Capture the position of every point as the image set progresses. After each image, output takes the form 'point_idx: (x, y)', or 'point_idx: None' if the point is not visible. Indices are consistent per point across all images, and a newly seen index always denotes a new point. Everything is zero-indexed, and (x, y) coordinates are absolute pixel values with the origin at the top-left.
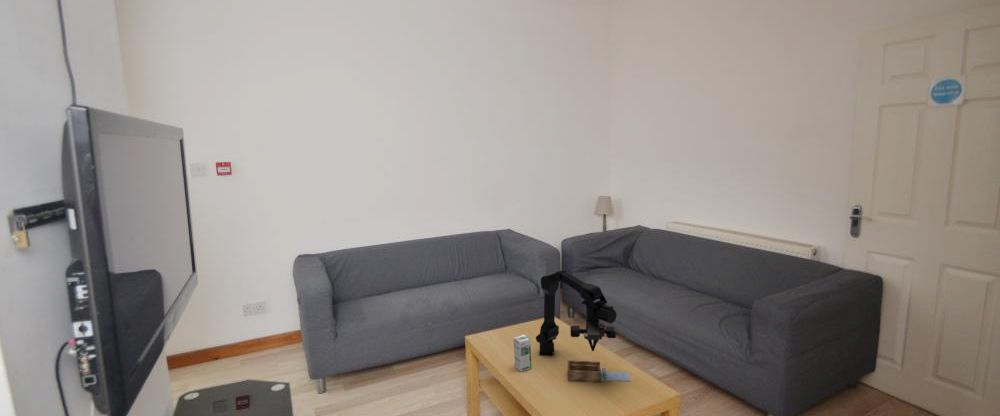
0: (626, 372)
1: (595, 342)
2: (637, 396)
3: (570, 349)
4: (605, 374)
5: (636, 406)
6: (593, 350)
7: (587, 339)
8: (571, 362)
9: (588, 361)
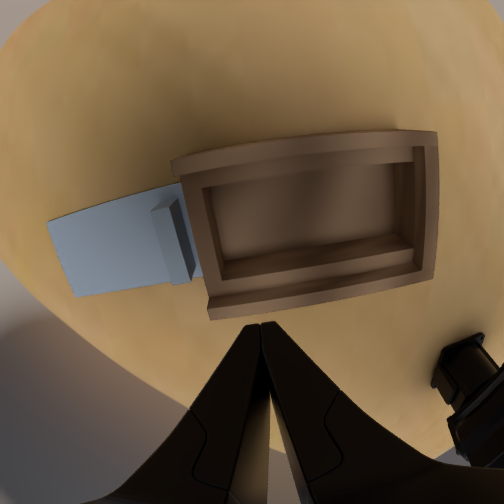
0: (81, 295)
1: (192, 455)
2: (15, 96)
3: (366, 409)
4: (158, 208)
5: (26, 22)
6: (249, 328)
7: (490, 476)
8: (408, 269)
9: (294, 304)
